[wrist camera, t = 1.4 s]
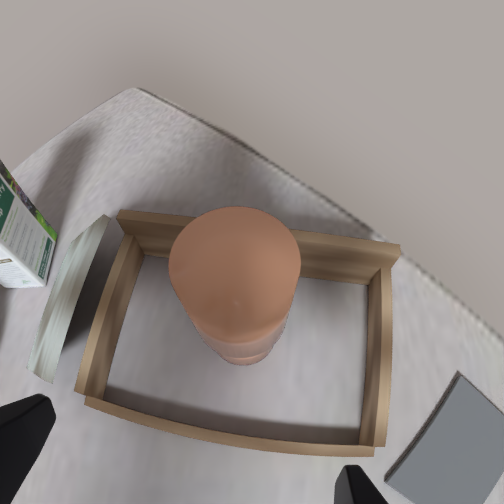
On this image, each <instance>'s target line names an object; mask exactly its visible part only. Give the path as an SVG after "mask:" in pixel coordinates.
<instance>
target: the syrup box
mask: <svg viewBox="0 0 504 504" xmlns="http://www.w3.org/2000/svg"><path fill="white" fill-rule="evenodd" d="M56 238H57V233H56V232H55V231H54V230H53V229H52V227H51V226H50V225H49V224H48V222H47V221H46V220H45V219H44V218H43V216H42V215H41V214H40V212H39V211H38V210H37V209H36V208H35V206H34V205H33V204H32V203H31V201H30V200H29V198H28V197H27V196H26V195H25V193H24V192H23V190H22V189H21V188H20V186H19V185H18V184H17V182H16V181H15V180H14V178H13V177H12V175H11V174H10V173H9V171H8V170H7V169H6V167H5V166H4V164H3V163H2V161H1V160H0V284H1V285H2V286H4V287H5V288H28V287H45V286H46V283H47V275H48V271H49V267H50V263H51V258H52V254H53V250H54V246H55V242H56Z"/></svg>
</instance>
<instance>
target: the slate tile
mask: <svg viewBox="0 0 504 504" xmlns="http://www.w3.org/2000/svg"><path fill="white" fill-rule="evenodd" d="M503 471H504V415H503V414H502V413H501V412H500V411H499V410H498V409H497V408H495V407H494V406H493V405H492V404H491V403H490V402H489V401H488V400H487V399H486V398H485V397H484V396H483V395H482V394H481V393H479V392H478V391H477V390H476V389H475V388H474V387H473V386H472V385H471V384H470V383H469V382H468V381H466V380H465V379H464V378H463V377H462V376H459V377H457V379H456V381H455V383H454V384H453V386H452V388H451V390H450V391H449V393H448V395H447V396H446V398H445V400H444V401H443V403H442V404H441V406H440V408H439V409H438V411H437V412H436V414H435V415H434V417H433V418H432V420H431V421H430V423H429V424H428V426H427V427H426V429H425V430H424V431H423V433H422V434H421V436H420V437H419V438H418V440H417V441H416V443H415V444H414V445H413V447H412V448H411V449H410V451H409V452H408V453H407V455H406V456H405V457H404V458H403V460H402V461H401V462H400V463H399V465H398V466H397V467H396V468H395V470H394V471H393V472H392V473H391V474H390V476H389V477H388V478H387V479H386V480H385V481H384V482H385V483H386V484H388V485H389V486H390V487H392V488H393V489H395V490H396V491H397V492H399V493H400V494H402V495H403V496H404V497H406V498H407V499H409V500H410V501H412V502H413V503H414V504H483V503H484V502H485V500H486V499H487V497H488V496H489V494H490V493H491V491H492V490H493V488H494V486H495V485H496V483H497V481H498V480H499V478H500V476H501V475H502V473H503Z"/></svg>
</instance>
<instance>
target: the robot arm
mask: <svg viewBox="0 0 504 504" xmlns="http://www.w3.org/2000/svg"><path fill="white" fill-rule="evenodd" d="M55 420H56V414H55V411H54V408H53V405H52V402H51V400H50V398H49V397H47V396H45V395H43V394H35V395H33V396H30V397H27V398H24V399H21V400H19V401H16V402H13V403H10V404H7V405H4V406H1V407H0V504H11V502H12V500H13V498H14V497H15V495H16V493H17V491H18V490H19V488H20V486H21V485H22V483H23V481H24V479H25V478H26V476H27V474H28V473H29V471H30V469H31V468H32V466H33V464H34V463H35V461H36V460H37V458H38V456H39V454H40V452H41V450H42V448H43V446H44V444H45V442H46V440H47V438H48V435H49V433H50V431H51V429H52V427H53V425H54V423H55ZM334 504H388V503H387V501H386V500H385V499H384V497H383V496H382V495H381V493H380V492H379V491H378V489H377V488H376V487H375V486H374V484H373V483H372V482H371V480H370V479H369V478H368V476H367V475H366V474H365V472H364V471H363V469H362V468H361V467H360V466H359V465H345V466H344V467H343V469H342V471H341V472H340V474H339V476H338V478H337V480H336V483H335V494H334Z"/></svg>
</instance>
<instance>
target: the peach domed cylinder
mask: <svg viewBox="0 0 504 504" xmlns="http://www.w3.org/2000/svg"><path fill="white" fill-rule="evenodd" d="M300 267H301V259H300V252H299V248H298V245H297V243H296V240H295V238H294V237H293V235H292V233H291V232H290V231H289V229H288V228H287V227H286V226H285V225H284V224H283V223H282V222H280V221H279V220H278V219H277V218H275V217H273V216H272V215H270V214H268V213H266V212H264V211H261V210H258V209H254V208H249V207H241V206H232V207H223V208H219V209H215V210H212V211H209V212H207V213H205V214H202V215H201V216H199V217H197V218H196V219H194V220H193V221H192V222H190V223H189V224H188V225H187V226H186V227H185V228H184V229H183V230H182V231H181V233H180V234H179V235H178V237H177V238H176V240H175V242H174V244H173V246H172V249H171V252H170V256H169V277H170V280H171V284H172V286H173V288H174V290H175V292H176V294H177V296H178V298H179V300H180V301H181V303H182V305H183V307H184V309H185V310H186V312H187V314H188V316H189V317H190V319H191V321H192V323H193V324H194V326H195V328H196V329H197V331H198V333H199V335H200V336H201V338H202V339H203V341H204V342H205V343H206V344H207V345H208V346H209V347H210V348H212V349H213V350H214V351H216V352H217V353H218V354H219V355H220V356H221V357H222V358H223V359H224V360H226V361H227V362H230V363H232V364H235V365H251V364H254V363H257V362H259V361H261V360H262V359H264V358H265V357H266V356H267V355H268V354H269V352H270V351H271V349H272V348H273V345H274V344H275V343H276V342H277V341H278V339H279V338H280V336H281V335H282V333H283V330H284V328H285V325H286V321H287V318H288V314H289V311H290V307H291V304H292V300H293V297H294V293H295V289H296V286H297V282H298V278H299V274H300Z"/></svg>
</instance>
